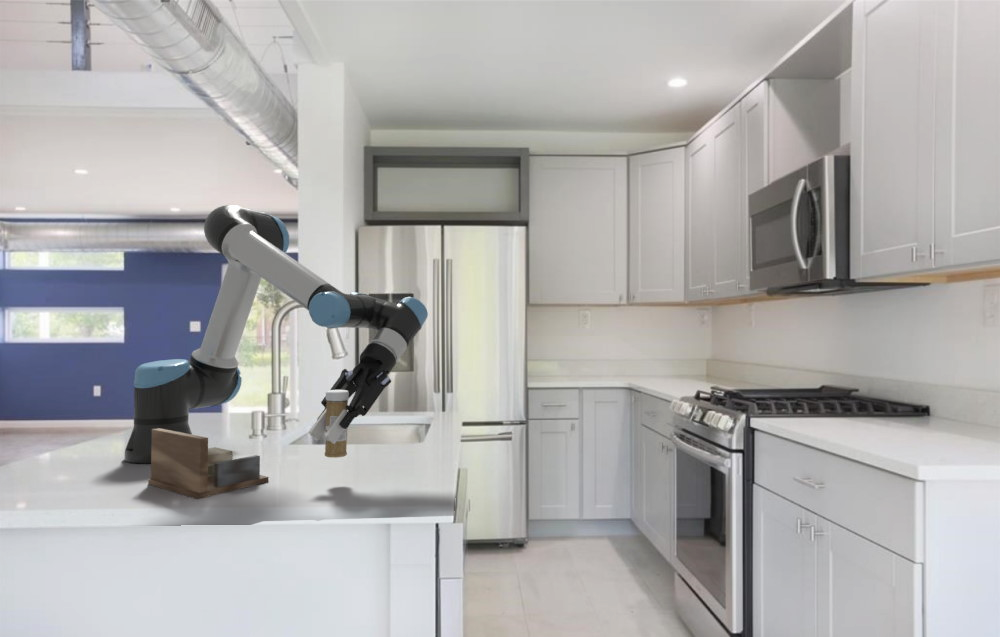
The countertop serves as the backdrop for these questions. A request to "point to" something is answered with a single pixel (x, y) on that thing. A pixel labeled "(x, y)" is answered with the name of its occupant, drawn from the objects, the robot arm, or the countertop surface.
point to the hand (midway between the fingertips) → (321, 437)
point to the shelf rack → (198, 466)
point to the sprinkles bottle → (335, 406)
